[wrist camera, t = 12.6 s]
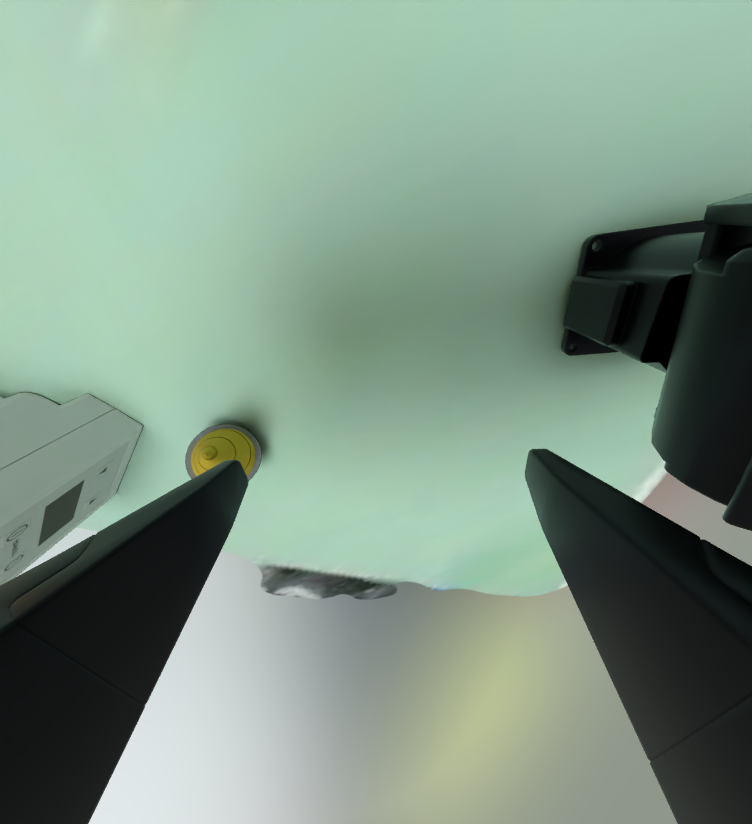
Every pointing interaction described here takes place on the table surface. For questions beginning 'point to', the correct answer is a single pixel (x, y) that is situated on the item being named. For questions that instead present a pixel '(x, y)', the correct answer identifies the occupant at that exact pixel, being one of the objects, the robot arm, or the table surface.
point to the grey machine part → (55, 470)
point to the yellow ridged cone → (223, 450)
